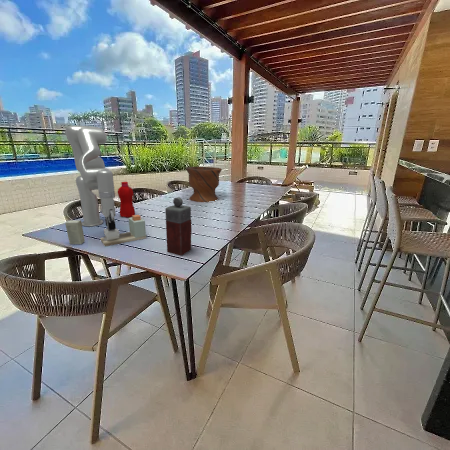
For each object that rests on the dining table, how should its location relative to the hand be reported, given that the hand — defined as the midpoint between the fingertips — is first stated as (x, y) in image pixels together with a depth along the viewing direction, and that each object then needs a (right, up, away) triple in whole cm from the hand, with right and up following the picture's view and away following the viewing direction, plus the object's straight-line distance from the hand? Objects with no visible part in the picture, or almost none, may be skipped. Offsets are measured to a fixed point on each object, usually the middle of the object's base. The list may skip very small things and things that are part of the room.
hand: (110, 227), depth 133 cm
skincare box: (-18, -9, -1) cm, 20 cm away
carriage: (0, -6, +2) cm, 6 cm away
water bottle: (-9, +8, +48) cm, 49 cm away
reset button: (+11, +4, +8) cm, 14 cm away
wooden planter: (+41, +27, +110) cm, 120 cm away
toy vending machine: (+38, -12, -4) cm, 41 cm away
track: (+4, -7, +6) cm, 10 cm away
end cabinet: (+11, -4, +10) cm, 16 cm away
